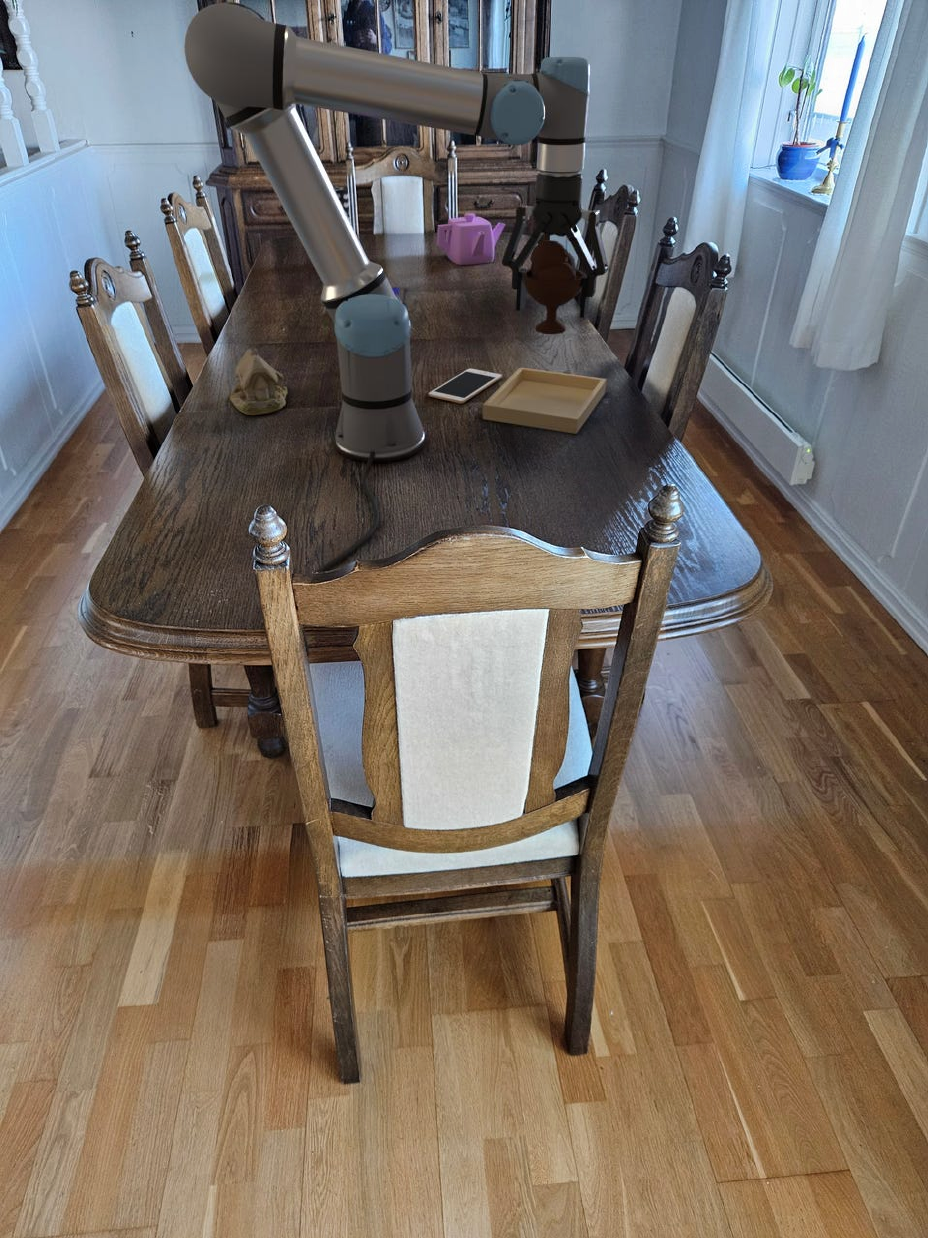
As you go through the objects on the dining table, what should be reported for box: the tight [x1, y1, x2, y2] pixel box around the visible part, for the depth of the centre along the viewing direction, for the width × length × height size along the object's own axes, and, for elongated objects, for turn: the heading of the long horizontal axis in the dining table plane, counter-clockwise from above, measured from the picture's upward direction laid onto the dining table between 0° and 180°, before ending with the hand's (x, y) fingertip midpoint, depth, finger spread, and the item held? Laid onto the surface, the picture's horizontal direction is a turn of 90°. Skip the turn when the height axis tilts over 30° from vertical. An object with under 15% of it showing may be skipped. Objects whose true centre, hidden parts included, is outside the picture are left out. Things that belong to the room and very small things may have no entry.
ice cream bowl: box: [522, 239, 587, 335], centre depth 143 cm, size 11×11×15 cm
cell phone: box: [428, 367, 503, 404], centre depth 164 cm, size 8×16×1 cm, turn 150°
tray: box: [482, 366, 608, 435], centre depth 156 cm, size 21×18×3 cm
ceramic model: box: [229, 347, 288, 416], centre depth 156 cm, size 14×11×10 cm
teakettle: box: [436, 212, 506, 266], centre depth 244 cm, size 17×17×12 cm
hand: (551, 311), depth 146 cm, fingers closed on ice cream bowl, 11 cm apart
